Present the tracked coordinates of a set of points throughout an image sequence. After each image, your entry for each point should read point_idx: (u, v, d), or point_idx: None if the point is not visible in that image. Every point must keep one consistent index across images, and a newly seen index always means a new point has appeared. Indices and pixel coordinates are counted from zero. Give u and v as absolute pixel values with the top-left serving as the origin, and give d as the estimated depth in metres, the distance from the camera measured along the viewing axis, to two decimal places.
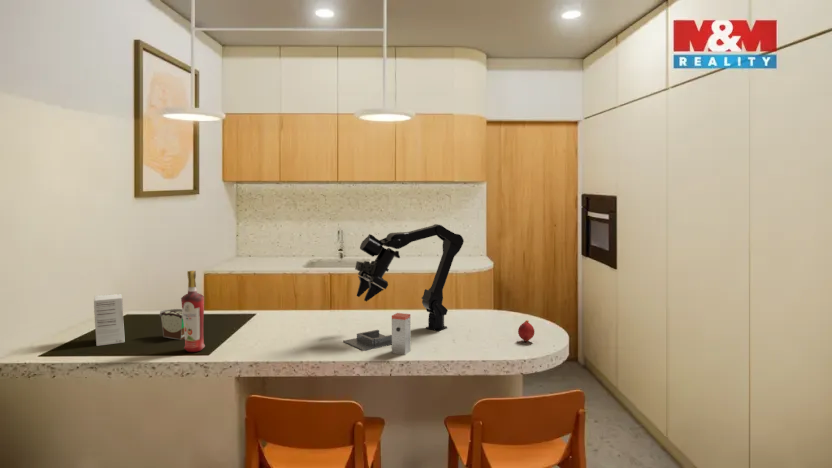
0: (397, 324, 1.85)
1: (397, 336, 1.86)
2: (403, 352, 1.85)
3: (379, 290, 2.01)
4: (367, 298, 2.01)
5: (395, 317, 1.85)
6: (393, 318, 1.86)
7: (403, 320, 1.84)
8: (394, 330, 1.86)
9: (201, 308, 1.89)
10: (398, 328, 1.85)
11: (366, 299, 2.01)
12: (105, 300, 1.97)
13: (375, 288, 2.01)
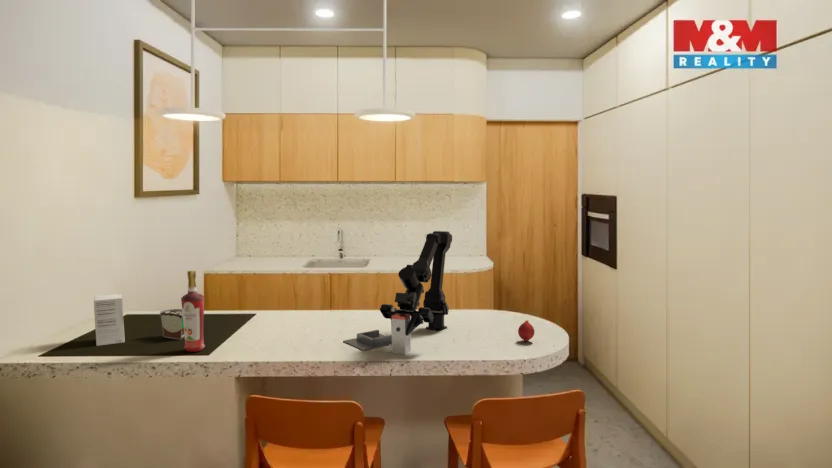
0: (397, 324, 1.85)
1: (397, 336, 1.86)
2: (403, 352, 1.85)
3: (418, 323, 1.89)
4: (409, 332, 1.86)
5: (395, 317, 1.85)
6: (393, 318, 1.86)
7: (403, 320, 1.84)
8: (394, 330, 1.86)
9: (201, 308, 1.89)
10: (398, 328, 1.85)
11: (408, 333, 1.85)
12: (105, 300, 1.97)
13: (415, 321, 1.89)
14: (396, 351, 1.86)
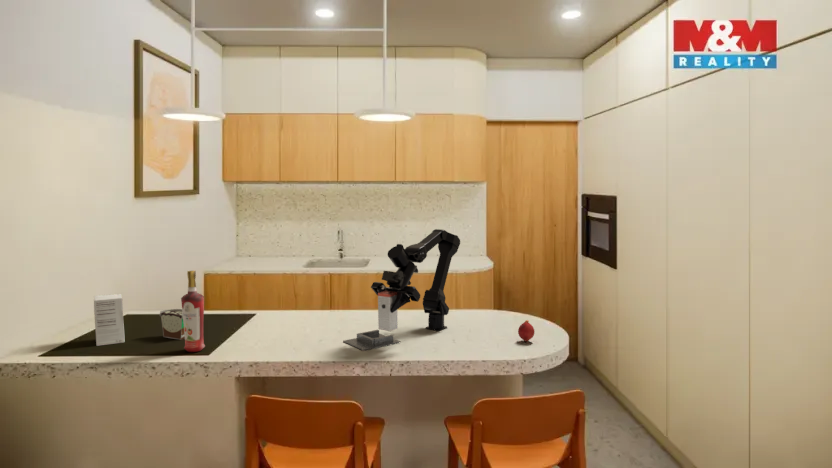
0: (382, 301, 1.90)
1: (382, 313, 1.90)
2: (388, 329, 1.90)
3: (405, 302, 1.92)
4: (394, 310, 1.90)
5: (381, 294, 1.90)
6: (379, 295, 1.91)
7: (387, 297, 1.88)
8: (380, 307, 1.91)
9: (201, 308, 1.89)
10: (383, 305, 1.90)
11: (393, 310, 1.89)
12: (105, 300, 1.97)
13: (401, 299, 1.92)
14: (382, 327, 1.91)
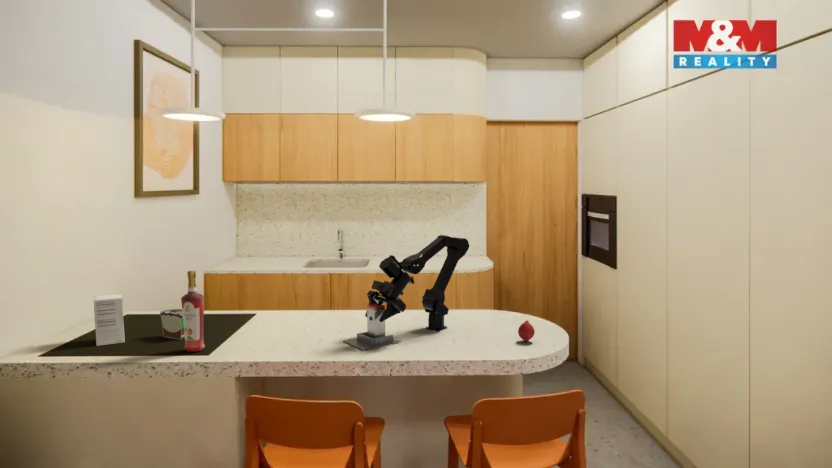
0: (370, 313, 1.99)
1: (370, 325, 2.00)
2: None
3: (395, 312, 1.98)
4: (382, 319, 1.96)
5: (369, 307, 2.00)
6: (368, 307, 2.00)
7: (373, 310, 1.97)
8: (368, 319, 2.00)
9: (201, 308, 1.89)
10: (370, 317, 1.99)
11: (381, 320, 1.96)
12: (105, 300, 1.97)
13: (392, 310, 1.97)
14: None
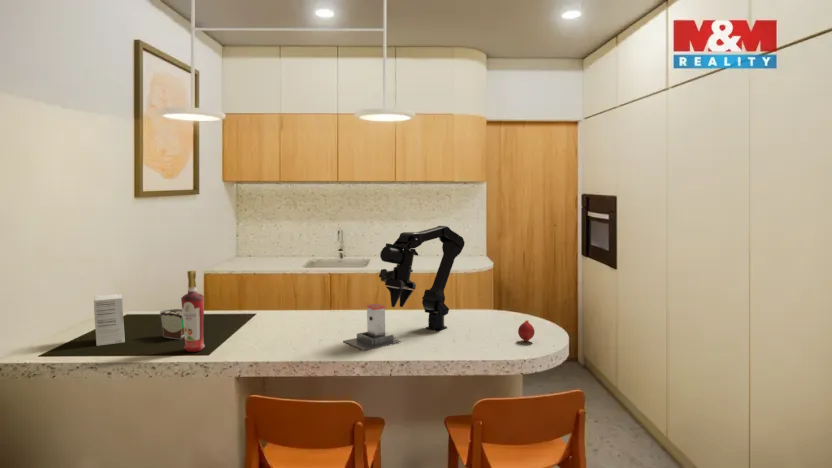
0: (370, 313, 1.99)
1: (370, 325, 2.00)
2: None
3: (399, 291, 1.97)
4: (393, 304, 1.99)
5: (369, 307, 2.00)
6: (368, 307, 2.00)
7: (373, 310, 1.97)
8: (368, 319, 2.00)
9: (201, 308, 1.89)
10: (370, 317, 1.99)
11: (392, 304, 1.99)
12: (105, 300, 1.97)
13: (396, 291, 1.98)
14: None
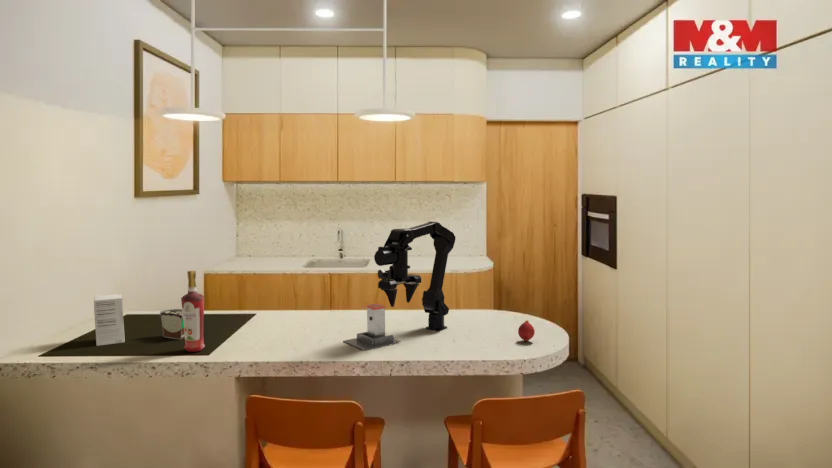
0: (370, 313, 1.99)
1: (370, 325, 2.00)
2: None
3: (392, 292, 1.96)
4: (391, 304, 1.99)
5: (369, 307, 2.00)
6: (368, 307, 2.00)
7: (373, 310, 1.97)
8: (368, 319, 2.00)
9: (201, 308, 1.89)
10: (370, 317, 1.99)
11: (391, 305, 1.99)
12: (105, 300, 1.97)
13: (391, 291, 1.98)
14: None
